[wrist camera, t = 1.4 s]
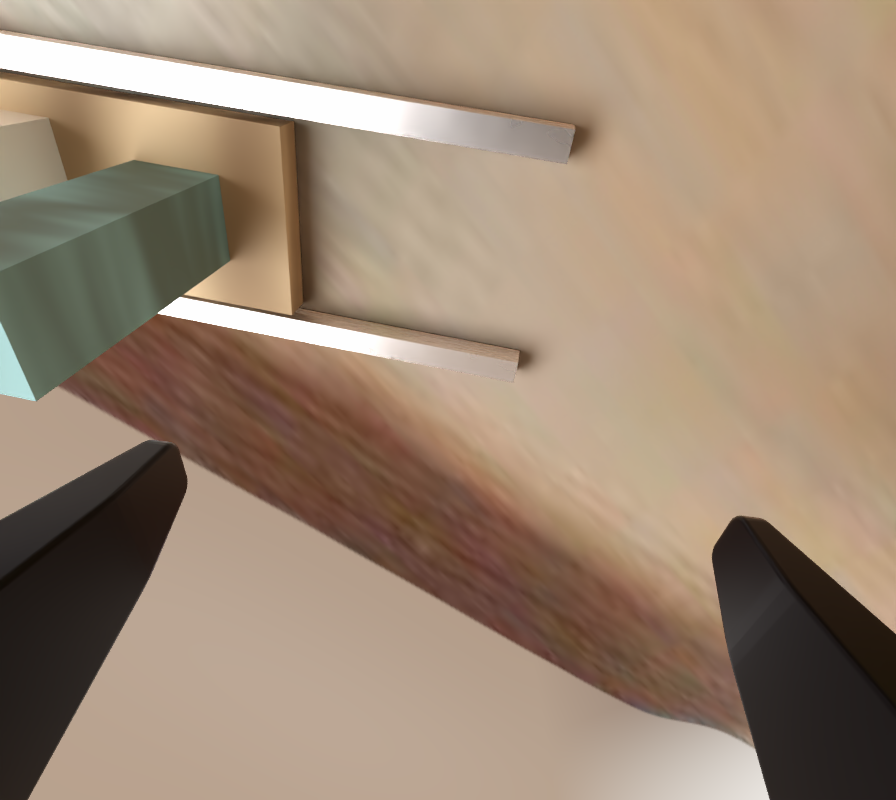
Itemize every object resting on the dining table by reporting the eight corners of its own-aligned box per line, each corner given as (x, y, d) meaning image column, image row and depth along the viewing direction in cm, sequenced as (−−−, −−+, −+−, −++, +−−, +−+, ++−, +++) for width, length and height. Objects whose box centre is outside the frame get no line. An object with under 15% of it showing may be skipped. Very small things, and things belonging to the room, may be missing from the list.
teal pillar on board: (294, 121, 18) (59, 206, 9) (303, 302, 22) (146, 476, 14) (-100, 54, 19) (-644, 75, 10) (-20, 241, 23) (-358, 367, 14)
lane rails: (574, 124, 17) (575, 129, 16) (514, 370, 22) (513, 382, 22) (-185, -1, 18) (-218, -2, 17) (-58, 259, 24) (-79, 266, 23)
